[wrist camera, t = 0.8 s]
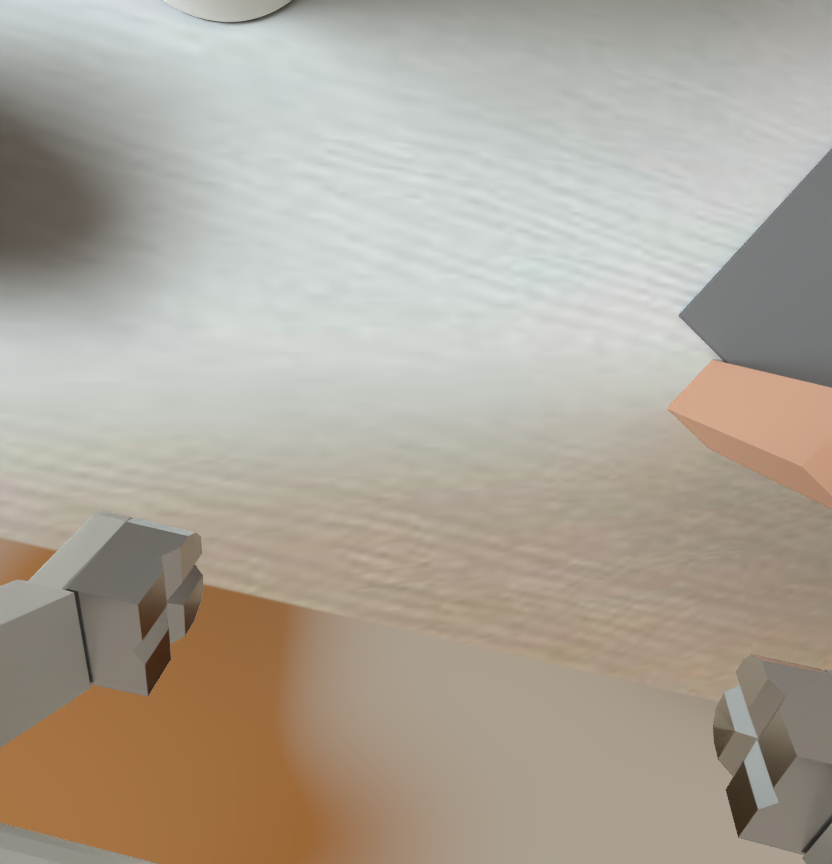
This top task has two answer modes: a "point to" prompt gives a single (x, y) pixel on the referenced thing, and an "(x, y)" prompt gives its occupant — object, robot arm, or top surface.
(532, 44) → the top surface
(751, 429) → the terracotta block
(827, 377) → the charcoal mat
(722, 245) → the top surface
